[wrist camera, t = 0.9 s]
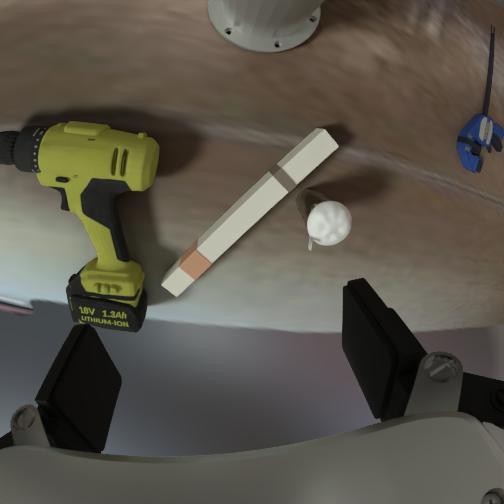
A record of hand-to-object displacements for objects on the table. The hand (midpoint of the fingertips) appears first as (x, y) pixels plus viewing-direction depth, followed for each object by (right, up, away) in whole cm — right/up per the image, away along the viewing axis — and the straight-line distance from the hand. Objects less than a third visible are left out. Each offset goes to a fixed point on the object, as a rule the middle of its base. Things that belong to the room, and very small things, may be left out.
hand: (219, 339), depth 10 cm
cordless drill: (-23, +8, +24) cm, 34 cm away
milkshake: (+8, +9, +26) cm, 28 cm away
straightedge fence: (0, +8, +25) cm, 27 cm away
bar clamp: (+39, +30, +19) cm, 53 cm away
